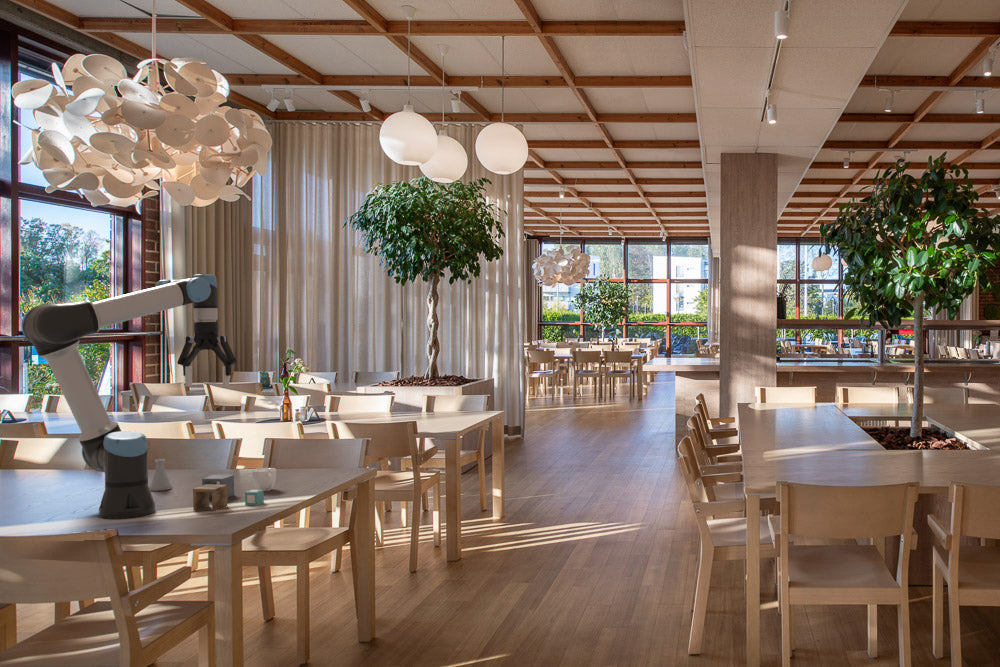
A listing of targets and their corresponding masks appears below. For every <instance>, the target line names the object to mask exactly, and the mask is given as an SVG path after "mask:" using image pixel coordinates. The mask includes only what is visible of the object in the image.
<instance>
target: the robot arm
mask: <svg viewBox="0 0 1000 667" xmlns="http://www.w3.org/2000/svg"><path fill="white" fill-rule="evenodd" d="M190 304H192V306H193V321H195V322H194V323H193V332H194V333H193V334H194V336H192V335H191V336H185V343H184V344H183V347H182V350H181V352H180V355H179V358H178V359H177V364H178V365H180V366H182V371H183V372H182V375H183V377H185V387H193V366H192V365H191V364H192V362H193V361H194V360H195V358H196V357H197V356H198V354H199V353H200V351H205V350H207V351H208V350H209V351H210V350H211V351H213V352H214V354H215V355H216V356H217V357H218V359H219V360H220V361H221V363H222V364H223V366H222V387H229V386H230V377H231V376H232V365H235V364H237V360H236V358H235V355H234V352H233V351H232V349H231V346H230V344H229V342H228V336H227V335H220V336H219V335H218V333H219V323H218V319H219V316H218V315H219V312H218V311H219V309H218V280H217V276H216V275H215V274H208V273H205V274H200V273H198V274H194V275H193V276H192V277H191V278H181V279H168V278H167V279H160V280H158V281H157V282H156V284H155V287H150V288H146V289H142V290H137V291H134V292H130V293H126V294H122V295H118V296H114V297H113V296H112V297H110V298H109V297H108V298H106V299H101V300H97V301H93V302H92V301H90V300H88V299H87V300H83V301H79V302H71V303H70V302H69V303H51V304H49V303H43V304H40V305H39V304H38V305H36V306H34V307H32V308H30V309H29V310H28V311H26V313H25V314H24V316H23V318H22V320H21V323H20V324H21V332H22V334H23V336H24V337H25V338H26V339H27V340H28V342H30V343H31V344H32V345H33V347H34V350H35V351H36V353H37V356H38V357H39V358H42V359H45V360H46V361H47V363H48V365H49V367H50V370H51V372H52V373H53V376H54V377H55V380H56V382H57V384H58V386H59V388H60V390H61V392H62V394H63V396H64V398H65V401H66V403H67V405H68V407H69V410H70V412H71V414H72V416H73V417H74V420H75V422H76V423H77V426H78V428H79V430H80V434H79V436H78V441H79V444H80V445H81V447H82V448H81V456H82V459H83V461H84V463H85V464H86V465H88V467H89V468H90V469H92V470H94V471H97V472H100V473H104V491H103V494H102V498H101V501H100V504H99V507H98V517H99V518H102V519H110V520H113V519H116V520H117V519H130V518H138V517H142V516H147V515H150V514H152V513H154V512H155V511H156V502H155V501H154V499H153V498H154V497H153V494H152V492H151V491H152V490H150V489H149V488H150V485H149V461H148V460H149V459H148V458H149V455H148V454H149V453H148V449H149V444H148V438H147V436H146V435H145V434H144V433H141V432H137V431H130V430H129V431H127V430H126V431H125V430H124V431H123V430H122V429H121V427H120V425H119V423H118V422H117V421H114V420H112V419H111V418H110V416H109V414H108V412H107V410H106V408H105V405H104V403H103V401H102V399H101V397H100V395H99V392H98V391H97V388H96V386H95V383H94V382H93V380H92V377H91V375H90V373H89V371H88V369H87V367H86V365H85V363H84V360H83V359H82V356H81V353H80V352H79V350H78V346H79V344H80V342H81V341H80V339H81V338H83V337H86V336H90V335H93V334H96V333H98V332H100V330H101V328H105V327H109V326H113V325H115V324H120V323H123V322H128V321H130V320H131V321H132V320H135V319H138V318H142V317H145V316H146V317H147V316H149V315H152V314H153V315H154V314H157V313H160V312H164V311H168V310H170V309H175V308H178V307H184V306H186V305H190ZM218 342H219V343H220V345H219V344H218ZM194 343H195V344H194ZM193 344H194V346H193ZM220 346H221V347H222V349H221V347H220ZM191 349H192V350H191Z"/></svg>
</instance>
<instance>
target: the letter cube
mask: <svg viewBox="0 0 1000 667" xmlns="http://www.w3.org/2000/svg"><path fill="white" fill-rule="evenodd" d="M264 492H265V491H264V490H257V489H250V490H247V491H245V492H244V501H245V502H244V503H245V506H259V504H260V505H262V504H265V499H264V498H265V497H264Z"/></svg>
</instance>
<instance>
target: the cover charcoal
mask: <svg viewBox="0 0 1000 667" xmlns="http://www.w3.org/2000/svg"><path fill="white" fill-rule="evenodd" d="M201 482H202V483H201V484H202V485H201V486H203V485H206V484H211V485H218V482H219V485H227V497H228V498H231V497H233V495H234V496H235V475H234V474H211V475H208V476H206V477H203V478H201ZM211 496H212V492H209V498H212V497H211ZM230 496H231V497H230Z"/></svg>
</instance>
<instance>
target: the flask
mask: <svg viewBox="0 0 1000 667" xmlns="http://www.w3.org/2000/svg"><path fill="white" fill-rule="evenodd" d="M154 462H155V468H154V474H153V476H152V478H151V479H152V480H151V483H150V485H149V489H150V491H153V492H159V491H160V492H162V491H167V490H172V489H173V485H172V483H171V480H170V479H169V475H168V473H167V470H166V466H165V462H166V459H165V458H159V459H155V460H154Z"/></svg>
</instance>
